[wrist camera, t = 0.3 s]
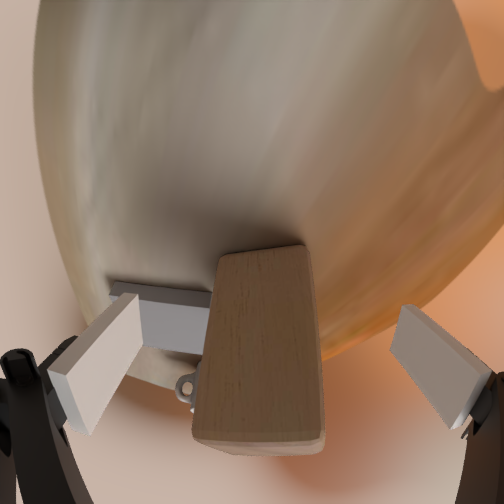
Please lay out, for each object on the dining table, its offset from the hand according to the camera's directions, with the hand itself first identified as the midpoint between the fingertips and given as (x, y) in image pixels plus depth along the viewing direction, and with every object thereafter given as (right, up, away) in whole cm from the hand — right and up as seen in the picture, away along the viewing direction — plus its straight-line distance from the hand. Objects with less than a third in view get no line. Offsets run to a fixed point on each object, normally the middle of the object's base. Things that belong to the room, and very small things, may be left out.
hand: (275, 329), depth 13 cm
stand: (-14, -6, +28) cm, 32 cm away
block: (+1, +1, +21) cm, 21 cm away
